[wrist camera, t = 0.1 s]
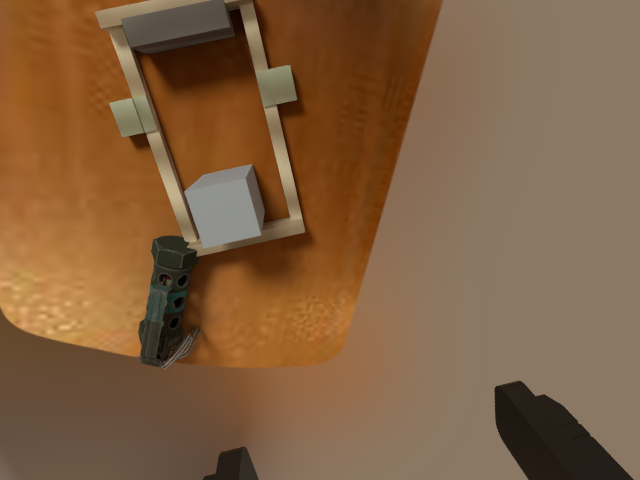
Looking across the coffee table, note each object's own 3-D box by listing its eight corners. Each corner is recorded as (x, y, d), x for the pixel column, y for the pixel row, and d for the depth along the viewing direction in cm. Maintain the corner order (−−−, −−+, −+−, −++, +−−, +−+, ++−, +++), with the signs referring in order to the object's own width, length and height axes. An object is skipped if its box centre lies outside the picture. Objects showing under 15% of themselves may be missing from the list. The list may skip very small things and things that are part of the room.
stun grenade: (163, 230, 38) (144, 339, 42) (136, 250, 32) (117, 375, 36) (221, 245, 39) (197, 352, 43) (205, 268, 33) (179, 389, 37)
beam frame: (85, 23, 31) (59, 12, 27) (272, -15, 31) (271, -32, 28) (173, 254, 39) (161, 269, 35) (321, 220, 39) (326, 232, 35)
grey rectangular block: (203, 174, 36) (184, 191, 29) (252, 163, 36) (245, 178, 29) (218, 220, 38) (203, 248, 31) (264, 210, 38) (261, 235, 31)
